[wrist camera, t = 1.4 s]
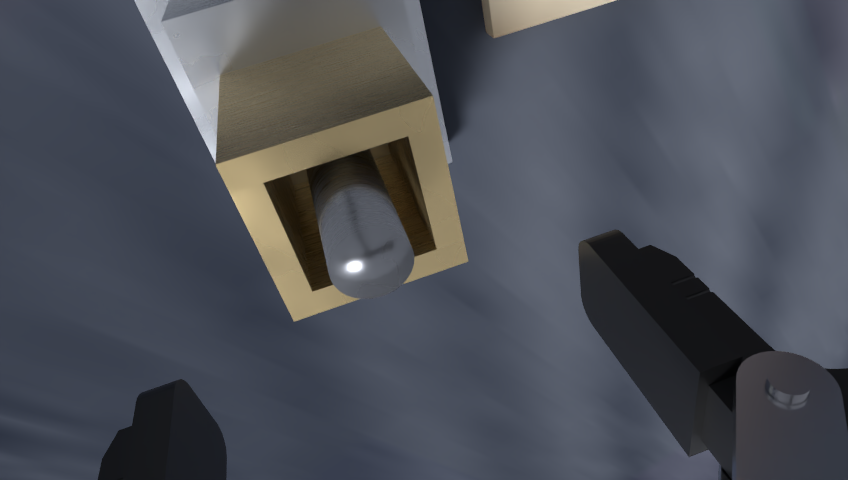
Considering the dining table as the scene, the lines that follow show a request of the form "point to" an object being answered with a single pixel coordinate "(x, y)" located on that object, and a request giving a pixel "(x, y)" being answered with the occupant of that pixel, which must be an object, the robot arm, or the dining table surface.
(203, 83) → the block
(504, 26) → the beige pad
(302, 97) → the collar
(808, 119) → the dining table surface
